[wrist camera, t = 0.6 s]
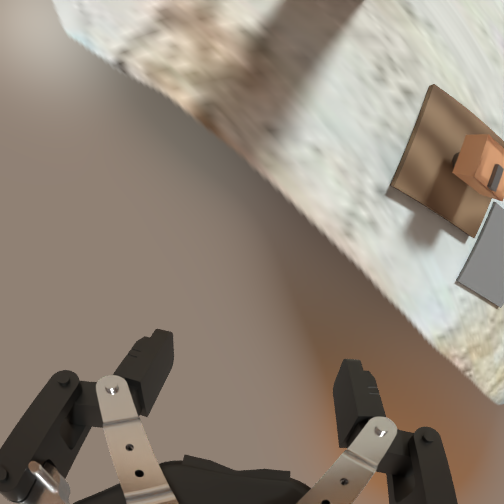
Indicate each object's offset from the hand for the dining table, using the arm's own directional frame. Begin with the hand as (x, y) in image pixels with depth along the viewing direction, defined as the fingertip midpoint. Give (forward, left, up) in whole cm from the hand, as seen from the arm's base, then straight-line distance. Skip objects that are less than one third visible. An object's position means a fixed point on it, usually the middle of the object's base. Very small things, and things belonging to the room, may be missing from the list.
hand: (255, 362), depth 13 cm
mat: (-11, +37, -27) cm, 47 cm away
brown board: (-19, +20, -27) cm, 39 cm away
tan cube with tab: (-19, +20, -22) cm, 35 cm away
